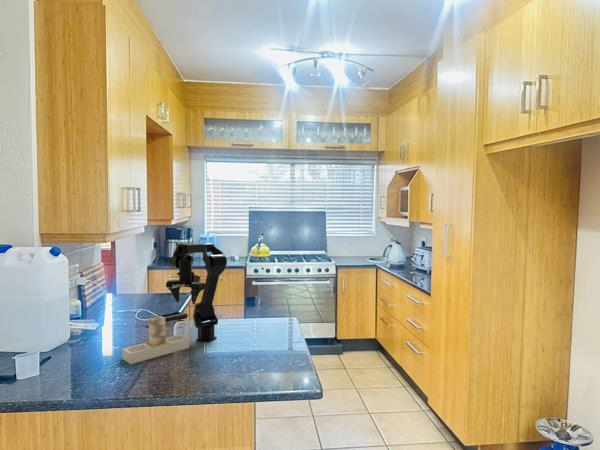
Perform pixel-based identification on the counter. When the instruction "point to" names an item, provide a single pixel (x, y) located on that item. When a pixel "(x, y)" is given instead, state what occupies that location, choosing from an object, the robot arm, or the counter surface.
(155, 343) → the tan carved block
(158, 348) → the rack
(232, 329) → the counter surface
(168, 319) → the door handle
